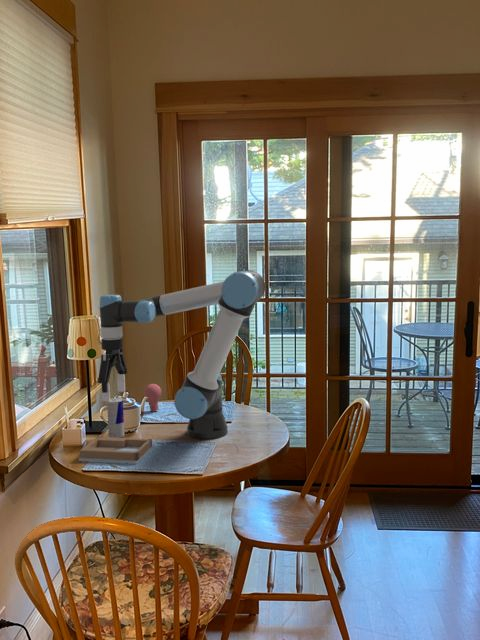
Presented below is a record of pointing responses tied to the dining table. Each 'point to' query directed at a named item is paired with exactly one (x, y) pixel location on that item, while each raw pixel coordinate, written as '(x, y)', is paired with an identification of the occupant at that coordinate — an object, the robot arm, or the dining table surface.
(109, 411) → the beverage can
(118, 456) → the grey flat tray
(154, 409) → the light bulb
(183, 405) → the robot arm
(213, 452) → the dining table surface
